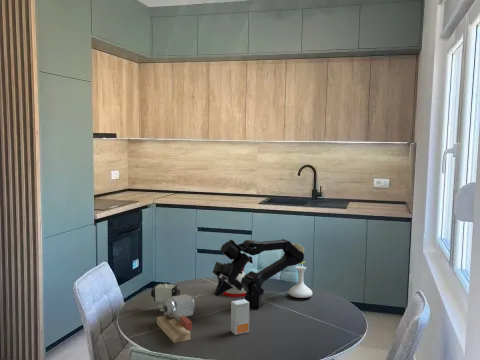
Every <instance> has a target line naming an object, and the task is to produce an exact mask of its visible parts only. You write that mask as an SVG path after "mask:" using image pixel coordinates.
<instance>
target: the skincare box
mask: <svg viewBox="0 0 480 360" xmlns="http://www.w3.org/2000/svg"><path fill="white" fill-rule="evenodd" d="M230 306H231V307H230V331H231V332H232V333H233V334H234V335H235V336H236V335H241V334H245V333H249V332H250V308H249V302H248V301H247V300H245V298H243V299H237V300H232V301H231V302H230Z"/></svg>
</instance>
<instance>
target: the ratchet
mask: <svg viewBox="0 0 480 360" xmlns="http://www.w3.org/2000/svg"><path fill="white" fill-rule="evenodd" d="M163 310H164V312H163V314H164V316H165V317H166V318H172V317H174V318H175V319H176V320H177V321H179V322H180V325H182V326H183V327H184V328H185V329H186V330H187V331H188V330H189V331H191V330H193V322H192V320H191V319H189V318H188V316H183V315H182V314H181V313H180V312H179V311H178V310H177V307H176V303H175V300H174V299H173V298H168V299H164V301H163Z"/></svg>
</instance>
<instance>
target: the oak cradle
mask: <svg viewBox="0 0 480 360" xmlns="http://www.w3.org/2000/svg"><path fill="white" fill-rule="evenodd" d="M156 324H157V326H158V327H159V328H160V329H161V330H162V331H163V333H164V334H165V335H166V336H167V337H168V338H169V339H170V340H171V341H172V343H174V344H177V343H181V342H186V341H190V340H191V339H192V338H191V336H192V335H191V330H188V331H187V330H186V329H185V328H184V327H183V326H182V325H180V322H179V321H177V320H176V319H175V318H174V317H172V318H166V317H165V315H162V316H157V317H156Z"/></svg>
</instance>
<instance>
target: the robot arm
mask: <svg viewBox="0 0 480 360" xmlns="http://www.w3.org/2000/svg"><path fill="white" fill-rule="evenodd" d="M292 244H293V243H292V242H291V241H290V240H289V239H284V238H282V239H276V240H274V239H273V240H265V241H257V240H251V239H246V240H244V241H243V242H241V243H239V244H237V243H236V242H235V241H234V240H233V239H229V241H226V242H225V243H224V244H222V245H221V247H220V252H221V253H222V254H223V255H225V257H227V258H228V259H229V260H230V261H231V262H227V263H226V262H224V263H221V262H219V261H216V262H215V263H214V267H213V270H212V274H214V275H215V276H216V278H217V280H218V281H217V282H218V283H217V286H216V288H215V291H214V294H213V295H214V296H215V297H218V296H220V295H223V292H225V291H227V290H229V289H231V288H232V289H233V287H232V286H233V285H234V286H235V287H236V288H237V289H238V290H239V291H241V289H242V288H244V291H246V296H244V299H245V300H247V301H248V302H249V309H250V310H251V309H252V310H259V309H260V308H261V307H262V306H263V303H262V296H263V295H264V292H265V290H264V289H263V288H262V286H263V284H264V283H265V281H267V280H269V279H271V278H272V277H273V276H276V275H277V274H279V273H280V272H282V271H283V270H285V269H286V268H288V267H292V266H298V264H300V263H301V262H303V261H304V258H305V254H303V252H301V251H299V250H298V249H297V248H296V247H295V246H293V245H292ZM277 250H282V252H283V255H282V257H281V258H279V259H278V260H276V261H275V262H273V263H271V264H270V265H268V266H266V267H264V268H263V269H261V270H260V271H258V272H254V271H252V270H251V271H249V272H247V273H245V274H246V275H244V277H243V278H242V280H241V282H239V281H238V280H237V279H236V278H237V276H238V275H239V274H242V273H243V272H244V271H243V272H242V269H243V268H244V267H245V268H246V266H247V264H248V263H250V264H253V263H254V261H253V257H252V256H257V255H259V254H261V253H263V252H267V251H268V252H269V251H277ZM248 255H250V256H248ZM245 268H244V269H245Z"/></svg>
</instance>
